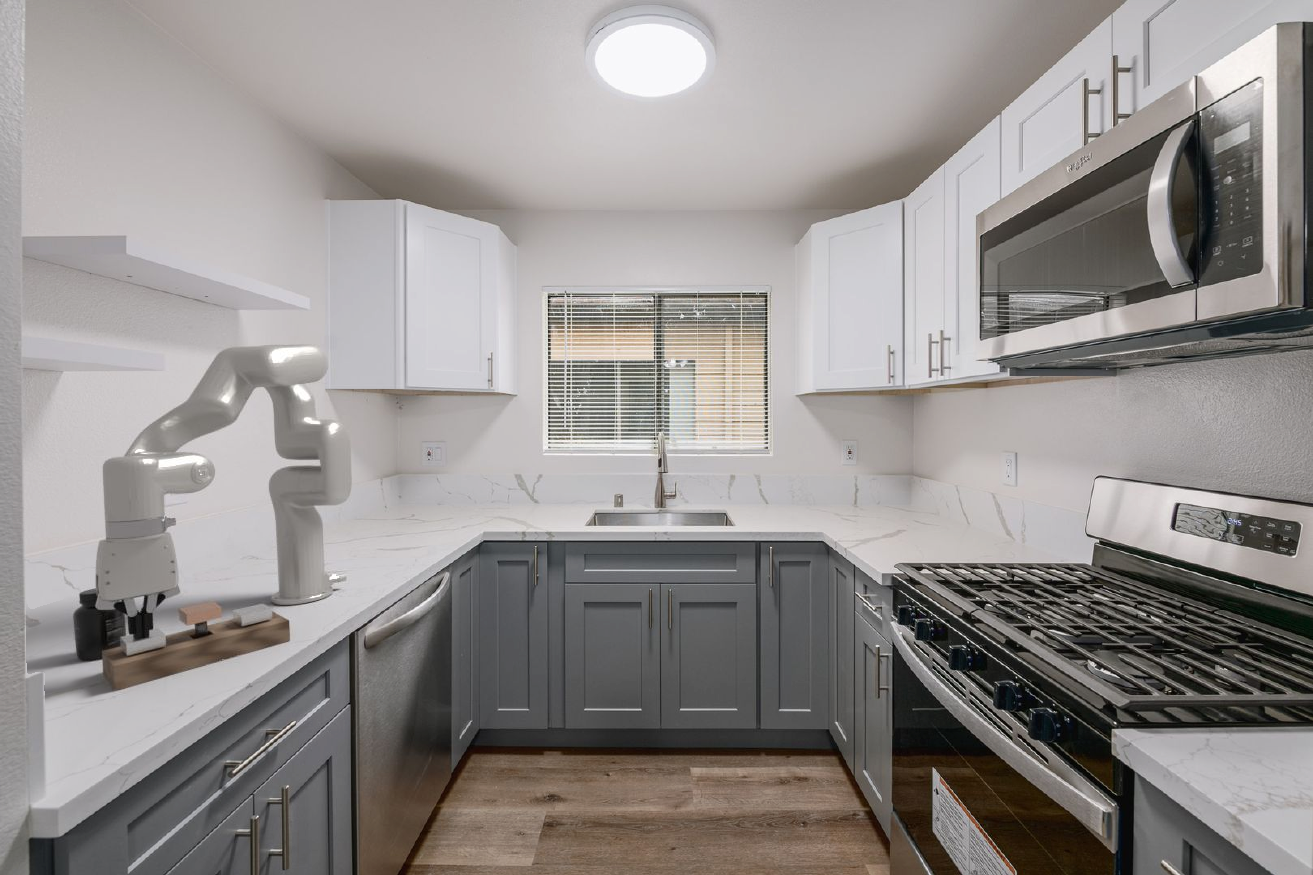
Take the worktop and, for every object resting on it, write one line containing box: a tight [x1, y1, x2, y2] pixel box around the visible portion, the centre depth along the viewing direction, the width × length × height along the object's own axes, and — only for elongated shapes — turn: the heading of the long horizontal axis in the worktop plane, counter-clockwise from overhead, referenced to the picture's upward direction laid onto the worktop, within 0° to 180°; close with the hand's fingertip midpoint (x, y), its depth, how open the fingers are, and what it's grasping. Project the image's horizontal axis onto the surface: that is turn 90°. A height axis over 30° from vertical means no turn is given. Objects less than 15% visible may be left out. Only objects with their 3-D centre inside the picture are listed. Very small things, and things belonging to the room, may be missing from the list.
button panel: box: [102, 610, 291, 692], centre depth 105 cm, size 25×10×4 cm, turn 142°
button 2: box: [232, 603, 273, 626], centre depth 111 cm, size 5×5×6 cm
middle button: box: [178, 601, 223, 639], centre depth 105 cm, size 5×5×6 cm
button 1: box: [120, 627, 166, 656], centre depth 99 cm, size 5×5×6 cm
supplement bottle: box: [72, 587, 127, 662], centre depth 107 cm, size 7×7×12 cm
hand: (141, 636), depth 98 cm, fingers closed
